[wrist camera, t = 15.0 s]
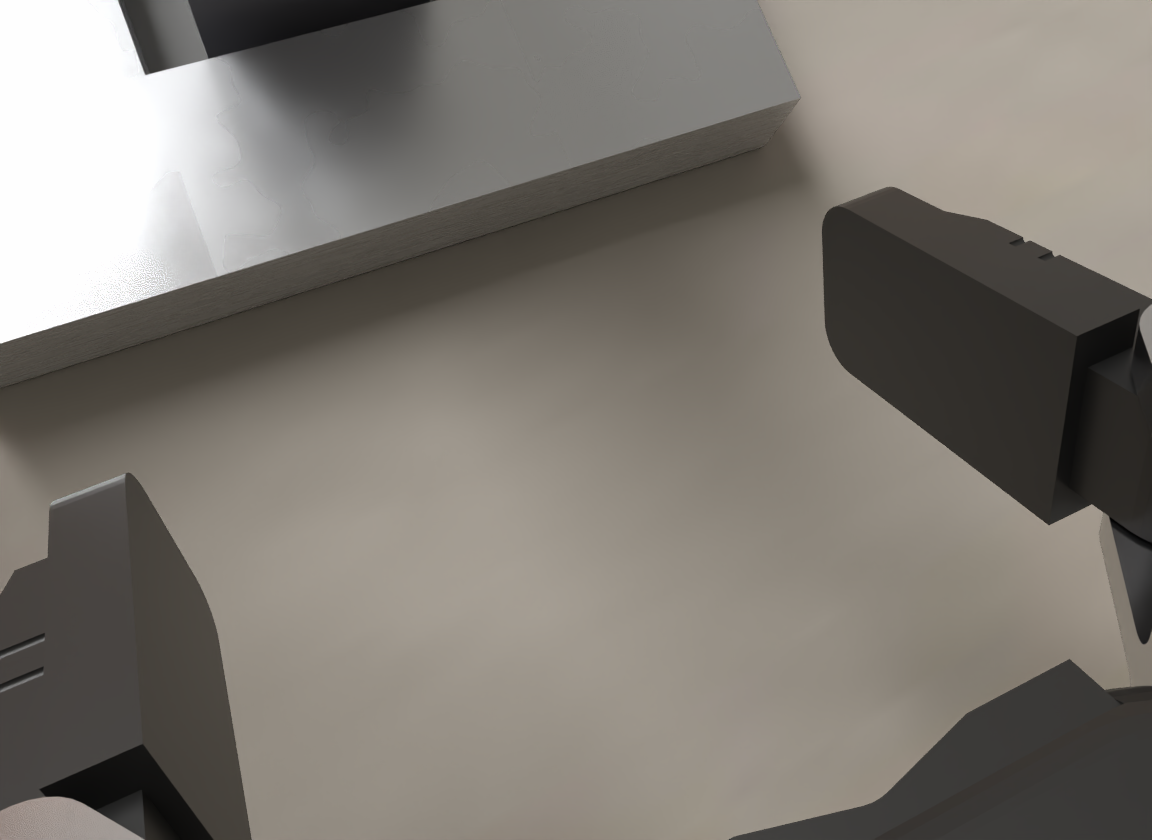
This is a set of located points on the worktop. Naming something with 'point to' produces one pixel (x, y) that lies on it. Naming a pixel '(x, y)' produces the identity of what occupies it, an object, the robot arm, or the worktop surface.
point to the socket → (331, 146)
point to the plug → (277, 19)
